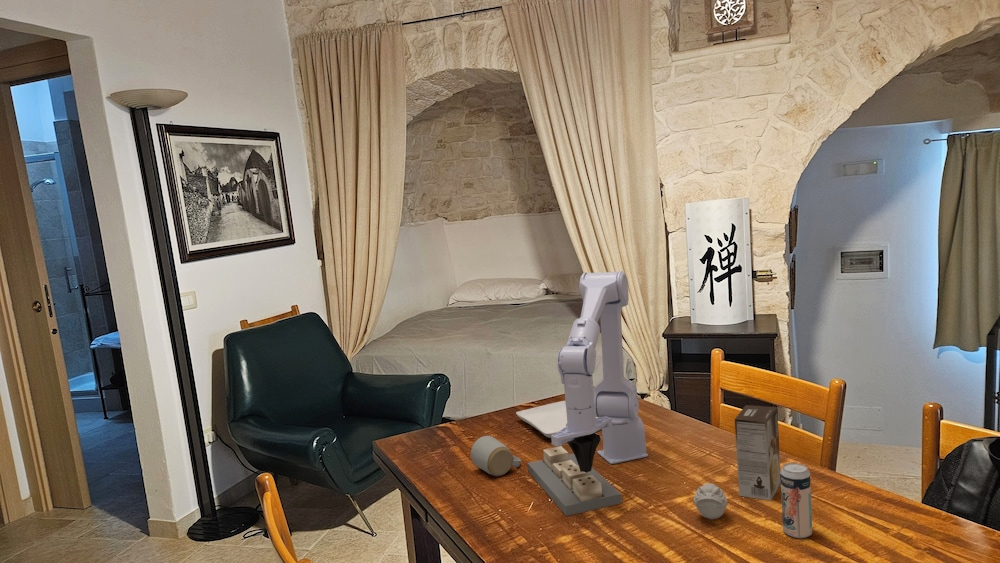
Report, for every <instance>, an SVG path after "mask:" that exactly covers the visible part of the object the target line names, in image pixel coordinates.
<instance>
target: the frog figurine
mask: <svg viewBox="0 0 1000 563" xmlns="http://www.w3.org/2000/svg"><path fill="white" fill-rule="evenodd" d="M695 491H696V492H695V494H694V497H693V504H694V505H695V506H696V509H697V511H698V512H699V514H701V516H702V517H704V518H706V519H708V520H716V519H719V518H720V517H722V516H723V514H724V512H725V510H726V508H727V506H728V503H729V502H728V499H727V497H726V494H725V492H724V490H723V489H721V487H719V486H717V485H716V484H714V483H708V482H706V483H704V484H703V485H702V486H701V485H700V486H699V487H698V488H697V489H696V490H695Z"/></svg>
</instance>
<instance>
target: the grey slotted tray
mask: <svg viewBox="0 0 1000 563" xmlns="http://www.w3.org/2000/svg"><path fill="white" fill-rule="evenodd" d="M568 457H569V460H572V461H573V462H574V463H575V464H576V465H578V462H577V460H576V457H575V455H574V453H568ZM526 464H527V471H528V473H529V474H530V475H531V476H532V478H533V479H534V480H535V481H536V482H537V483H538V485H539V486H540V487H541V488H542V489H543V490H544V492H545V493H546V494H547V495H548V496H549V498H551V500H552V501H553V502H554V504H555V505H556V506H557V507H558V508H559V509H560V510H561V512H562V513H563V514H564V515H565V517H567V516H572V515H577V514H580V513H586V512H590V511H594V510H598V509H599V510H600V509H603V508H607V507H612V506H616V505H620V504H623V500H622V499H623V497H622V493H621V492H620V491H619V490H618V489H617V488H616V487H614V486H613V485H612V484H611V483H610V482H609V481H608V480H607V479H606V478H604V476H603V475H601V474H600V473H599V472H598V471H597V470H596V469H594V468H593V467H592V470H591V471H590V472H589V475H593V476H594V477H595V478H596V479H597V480H598V481H599V482H600V483H601V487H602V497H600V498H596V499H591V500H587V501H582V502H581V501H580V500H579V499H578V498H577V497H576V496H575V495H574V492H573V489H572V490H569V489H568V488H567V487H566V486H565V484H564V483H563V478H562V479H559V478H558V477H557V476H556V475H555V474H554V473H553V468H552V469H550V468H549V467H548V466H547V465H546V464H545V463H544V459H540V460H536V461H530V462H527V463H526Z"/></svg>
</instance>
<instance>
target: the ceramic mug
mask: <svg viewBox="0 0 1000 563" xmlns="http://www.w3.org/2000/svg"><path fill="white" fill-rule="evenodd" d="M470 458H471V461H472V463H473V464H474V465H475V467H477V468H479V469H481V470H483V471H484V472H486V473H487V474H488V475H491V476H493V477H501V476H505V475H506V474H507V473H508V472H509V471H510V470H511V468H512V467H513V468H518V467H520V465H521V462H522V459H520V457H517V456H516V455H513V453H512V451H511V450H510V448H508V446H507V445H505V444H504V443H502V442H501V441H499V440H498V439H496V438H495V437H493V436H491V435H483V436H481V437H478V438H477V440H475V441H474V443H473V444H472V447H471V450H470Z"/></svg>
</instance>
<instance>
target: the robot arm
mask: <svg viewBox="0 0 1000 563" xmlns="http://www.w3.org/2000/svg"><path fill="white" fill-rule="evenodd" d="M578 284H579V286H578V287H579V294H580V296H581V298H582V303H583V304H582V307H581V308H582V309H581V313H580V317H579V318H576V319H575V320H574V321H573V323H572V327H571V329H570V333H569V334H568V335H569V336H568V337H567V338H568V339H567V342H566V345H565V346H563V347H562V348H560V349H559V351H558V353H557V369H558V373H559V375H560V381H561V384H563V388H564V399H565V400H564V401H565V402H566V413H567V423H566V427H565V428H563V429H562V430H560V431H559V432H557V433H556V434H553V435H551V438H550V440H551V446H554V447H560V446H562V447H563V445H564V444H566V443H567V445H568V446H569V447H570V449H571V451H572V454H574V455H575V457H576V460H577V462H578V465H579V468H580V470H581V471H583V472H586V473H587V472H590V471H591V470H592V468H593V462H594V458H595V454H596V453H597V454H598V455H599V456H601V457H602V458H603V459H604V460H605V461H607V462H608V463H609V464H610V465H614V464H619V463H623V462H630V461H633V460H637V459H642V458H643V459H644V458H647V457H648V456H649V454H648V453H647V445H646V431H645V424H644V423H643V420H642V418H641V417H640V416H639V409H640V408H639V407H640V402H639V396H638V392H637V391H638V389H637V387H636V384H634V383H633V382H632V381H630V380H629V379H628V378H626V377H625V374H624V369H625V368H624V353H623V352H624V351H623V350H624V349H623V331H622V330H623V329H622V327H623V326H622V309H623V308H624V307H626V306H628V305H629V281H628V277H627V274H626V273H625V272H624V271H623V270H619V271H603V272H583V273H582V275H580V278H579V283H578ZM599 319H600V325H599V323H598V322H599ZM600 335H601V356H602V357H601V358H602V377H603V378H602V379H601V380H600V381H597V383H596V384H595V385H594V380H593V379H594V378H593V375H594V373H595V370H596V365H597V364H596V360H597V358H596V357H597V351H596V347H597V343H598V340H599V336H600ZM596 417H599V418H596ZM600 430H601V434H602V437H601V435H599V434H597V433H596V432H598V431H600ZM601 438H602V446H603V447H602V448H603V449H600V450H597V449H598V447H599V444H600V442H601ZM596 451H597V452H596Z"/></svg>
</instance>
